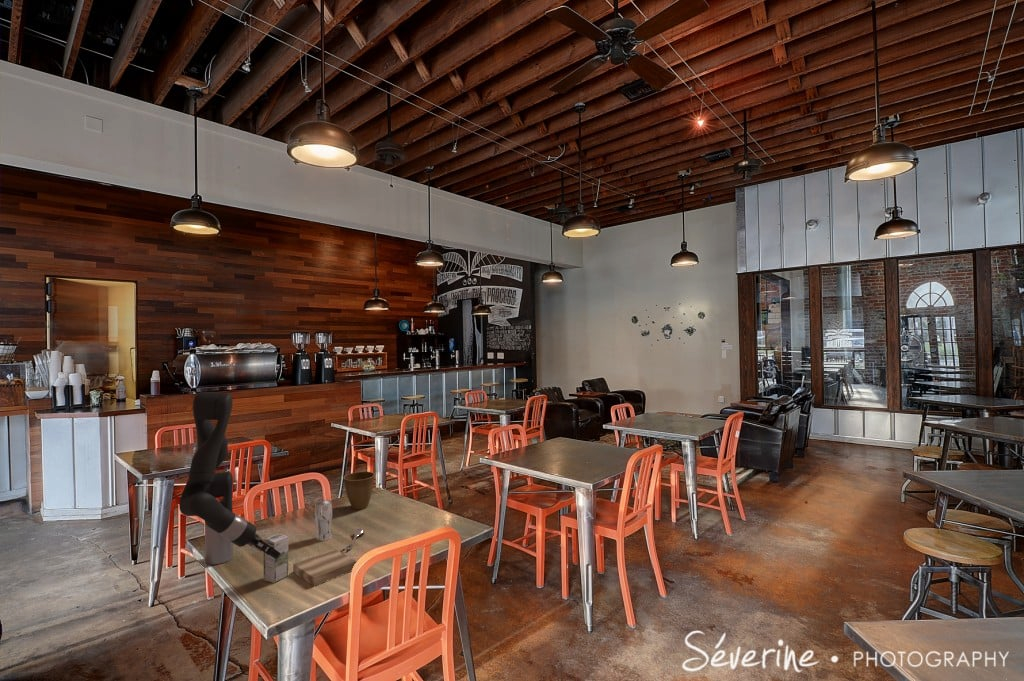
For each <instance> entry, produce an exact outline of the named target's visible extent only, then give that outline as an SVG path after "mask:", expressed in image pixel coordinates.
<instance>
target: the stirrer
mask: <svg viewBox="0 0 1024 681" xmlns="http://www.w3.org/2000/svg"><path fill="white" fill-rule="evenodd" d="M365 532H366V530H365V529H362V528H358V529H355V530H353V534H354V537H353V539H352V541H351V543H350V544H349V545H347V546H345V547H342V548H341V550H352V549H354V548H353V547H354V545H355V542H356V540H357V537H358V536H359V535H361V534H364V533H365Z"/></svg>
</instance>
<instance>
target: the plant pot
mask: <svg viewBox="0 0 1024 681" xmlns="http://www.w3.org/2000/svg"><path fill="white" fill-rule="evenodd" d="M343 483H344V488H345V489H344V490H345V492H346V495H347V499H348V501H349V503H350V506H351V509H352V510H355V511H360V510H364V509H365V510H366V508H368V506H369V504H370V501H371V497H372V492H373V488H374V483H375V473H374V472H372V471H356V472H352V473H347V474H346V475H344V476H343Z"/></svg>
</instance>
